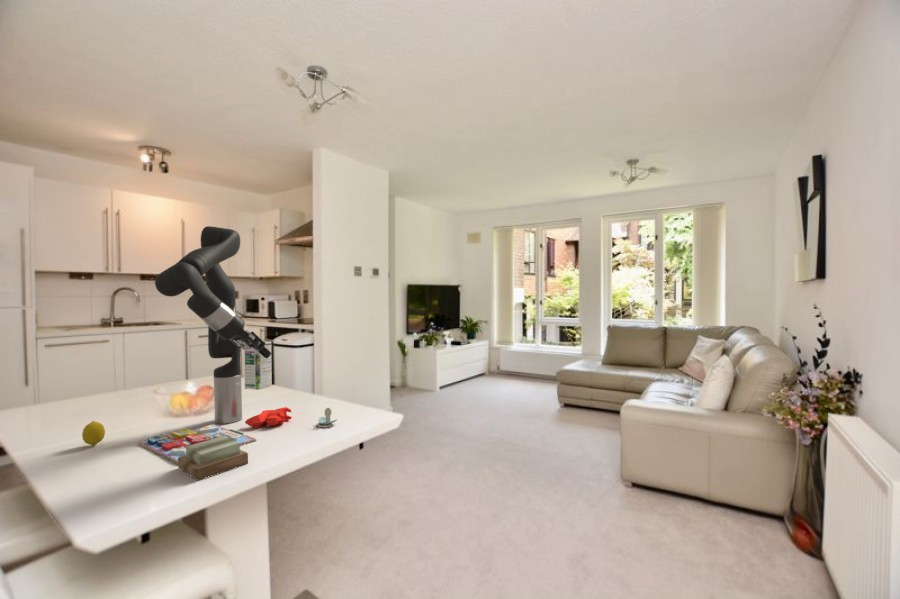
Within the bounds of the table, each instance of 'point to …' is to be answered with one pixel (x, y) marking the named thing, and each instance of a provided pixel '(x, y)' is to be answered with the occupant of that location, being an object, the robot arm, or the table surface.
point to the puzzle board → (190, 440)
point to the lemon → (93, 433)
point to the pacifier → (328, 422)
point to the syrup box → (257, 368)
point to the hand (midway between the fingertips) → (262, 355)
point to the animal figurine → (269, 417)
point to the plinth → (211, 466)
